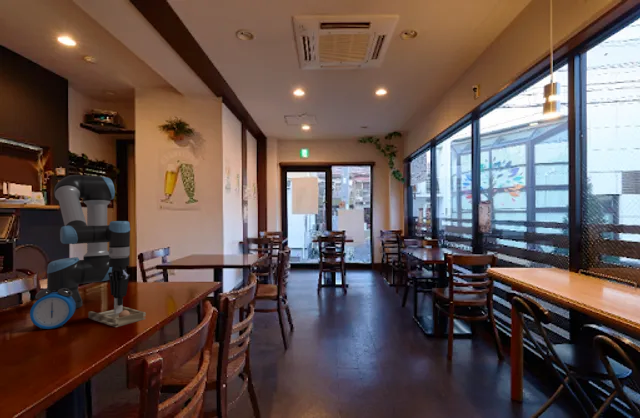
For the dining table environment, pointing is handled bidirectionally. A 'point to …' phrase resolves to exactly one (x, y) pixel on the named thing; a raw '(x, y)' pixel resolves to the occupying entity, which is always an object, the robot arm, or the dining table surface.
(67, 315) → the alarm clock
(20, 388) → the dining table surface
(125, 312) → the ball
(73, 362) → the dining table surface
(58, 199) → the robot arm
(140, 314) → the lane
